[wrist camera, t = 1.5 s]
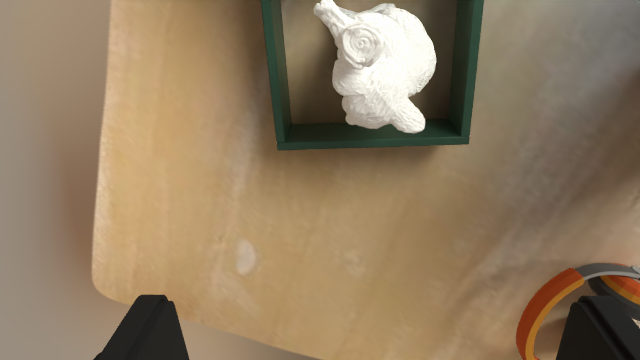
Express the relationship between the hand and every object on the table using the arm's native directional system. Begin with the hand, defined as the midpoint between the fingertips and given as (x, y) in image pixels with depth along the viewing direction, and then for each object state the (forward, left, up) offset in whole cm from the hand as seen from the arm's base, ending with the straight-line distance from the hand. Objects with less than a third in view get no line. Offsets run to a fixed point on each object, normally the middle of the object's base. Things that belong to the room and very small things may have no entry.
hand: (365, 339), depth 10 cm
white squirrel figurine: (-1, -4, -24) cm, 24 cm away
